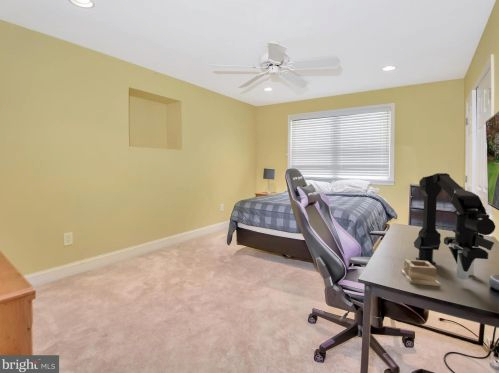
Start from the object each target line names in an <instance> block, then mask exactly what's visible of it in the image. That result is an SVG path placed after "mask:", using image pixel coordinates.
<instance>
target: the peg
mask: <svg viewBox="0 0 499 373" xmlns="http://www.w3.org/2000/svg"><path fill="white" fill-rule="evenodd" d="M458 253H462V250H458ZM456 265H457V266H456V278H458V279H459V280H460V279H461V280H469V276H470V275H469V270H468V271H467V272H465V271H463V268H462V265H461V261H460V258H459V255H458V259H457V263H456Z"/></svg>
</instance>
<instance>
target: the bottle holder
mask: <svg viewBox="0 0 499 373" xmlns="http://www.w3.org/2000/svg"><path fill="white" fill-rule="evenodd" d="M403 264H404V267H403V268H404V269H402V268H401V269H400V272H401V274H402V275H403V276H404V277H405V279H406V280H407V281H408V282H409V284H411V285H413V284H414V285H424V286H425V285H426V286H436V287H440V286H441V283H440V282H439V281H438V280H437V267H435V266H434V264H431V263H429V262H428V261H421V260H417V259H404V263H403Z"/></svg>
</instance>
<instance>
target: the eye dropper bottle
mask: <svg viewBox="0 0 499 373" xmlns="http://www.w3.org/2000/svg"><path fill="white" fill-rule="evenodd" d="M475 260H476V259H474V260H473V262H472V264H471V266H470V268H469V276H474V275H475Z"/></svg>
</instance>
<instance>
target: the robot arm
mask: <svg viewBox="0 0 499 373" xmlns="http://www.w3.org/2000/svg"><path fill="white" fill-rule="evenodd" d="M418 184H419V190H420V192H421V194H422V195H423V213H422V214H423V216H422V217H423V218H422V221H423V222H422V227H421V229H420V230H419V231H418V234H417V235H418V236H417V238H416V239H415V240H414V242H413V246H414V248H416V249H417V250H418V257H415V260H421V261H428V262H429V263H431V264H432V265H437V262H435V261H434V250H435V251H439V249H440V246H441V243H442V242H441V238H442V237H441V236H442V235H441V233H440V232H438V229H437V228H436V227H437V202H438V201H437V200H438V196H439V195H440V193H441V192H442V190H443V191H444V192H445V193H446V194H448V196H449V197H450V198H451V200H450V201H451V205H452V206H453V208H455V210H454V211H453V212H452V213H453V215H455V228H453V229H452V232H453V233H454V236H445V237H444V238H443V244H445V245H446V246H448V249H449V251H450V253H451V255H452V257H453V259H454V261H455V263H456V264H457V259H458V255H459V258H460V261H461V265H462V268H463V271H465V272H467V271H468V270H469V268H470V266H471V264H472V262H473V260H474V259H475V260H476V259H477V260H480V259H481V260H488V259H489V252H488V251H491V250H492V249H493V247H494V245H495V242H494V241H491V240H490V239H487V238H485V236H489V235H491V234H493V233H494V231H495V229H496V225H495V224H496V223H495V222H494V221H493V219H491V218H490V215H489V214H487V209H486V208H485V206H484V204H483V202H482V199H481V198H480V197H479V195H478V194H476V193H475V192H472V191H469V190H466V189H464V188H463V187H461V186H460V184H458V183H457V181H455V180H454V179H453V178H452V177H451V176H450V174H449V173H447V172H445V173H444V172H441V173H440V172H438V173H435V174H432V175H427V176H423V177H421V178H420V180H419V183H418ZM449 245H450V246H449ZM483 248H484V249H483ZM485 249H486V250H485ZM458 250H462V253H458ZM487 250H488V251H487Z"/></svg>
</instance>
